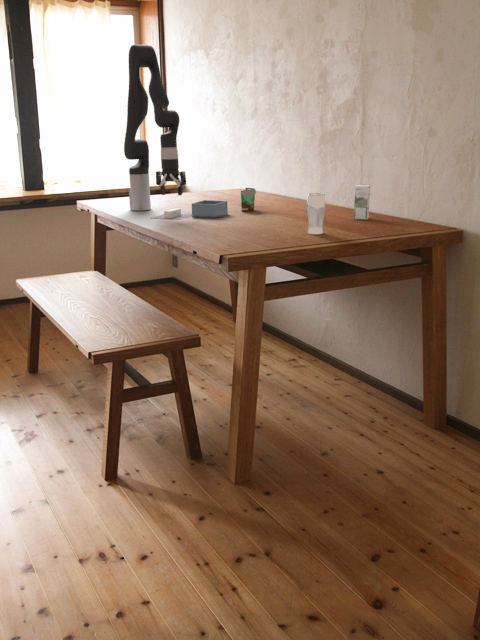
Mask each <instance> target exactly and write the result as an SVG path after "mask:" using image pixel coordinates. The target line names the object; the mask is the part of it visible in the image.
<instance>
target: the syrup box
mask: <svg viewBox="0 0 480 640" xmlns="http://www.w3.org/2000/svg"><path fill="white" fill-rule="evenodd" d="M370 193H371V185H370V184H365V183H364V184H363V183H362V184H361V183H360V184H359V183H358V184H355V185H354V202H353V203H354V205H353V207H354V209H353V220H357V221H358V220H359V221H367V220H368V219H370V215H369V214H370V197H371V194H370Z"/></svg>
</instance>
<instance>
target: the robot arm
mask: <svg viewBox="0 0 480 640" xmlns="http://www.w3.org/2000/svg"><path fill="white" fill-rule="evenodd" d="M141 68H148V70H149V72H150V78H149V79H150V80H149V83H148V93H149V94H148V93H147V91H146V88H144V85H143V84H142V81H141V78H140V77H141V75H140V74H141V73H140V69H141ZM160 70H161V69H160V66H159V62H158V56H157V54H156V51H155V48H154V47H153V46H152V45H150V44H132V45H131V46H130V47H129V51H128V93H127V95H128V96H127V111H126V112H127V114H126V115H127V117H126V130H125V136H124V142H123V143H124V144H123V153H124V156H125V158H126V159H127V160H138V162H137V163H136V164H135V165H132V166H131V167H129V169H128V171H129V172H128V173H129V185H130V186H129V188H130V189H128V198H129V209H130V211H138V212H139V211H140V212H141V211H149V210H151V209H152V207H151V206H152V203H151V189H150V188H151V187H150V176H149V175H150V172H149V170H150V151H149V149H150V148H149V143H148V141H147V140H146V139H145V138H136V136H137V133H138V132H137V131H138V130H139V128H140V126H141V125H142V123H143V122H144V120H145V119H146V117H147V115H148V112H149V97H150V100H151V103H152V105H153V110H154V111H153V113H154V114H153V115H154V122H155V124H156V126H157V127H158V128H164V129H165V128H168V129H167V132H165V133H162V134H161V135H160V136H159V137H160V139H159V140H160V162H161V169H162V171H161V170H157V171H156V172H155V184H156V186H159V187H160V189H159V190H160V194H161V195H162V196H165V195H166V186H165V185H166V184H167V182H173V183H175V184H176V185H177V195H178V196H182V195H183V192H184V191H183V187H184V186H186V185H187V178H186V171H184V170H183V171H179V168H180V167H179V152H178V151H179V150H178V142H177V141H178V140H177V136H178V130H179V126H180V116H179V113H178V112H177V111H176V110H171V109H170V110H165V109H167V108H168V107H169V105H170V100H169V97H168V95H167V92H166V89H165V87H164V84H163V80H162V75H161V71H160ZM148 95H149V96H148Z"/></svg>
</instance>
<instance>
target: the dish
mask: <svg viewBox="0 0 480 640" xmlns="http://www.w3.org/2000/svg"><path fill="white" fill-rule="evenodd" d="M228 211H229V210H228V201H227V200H211V199H210V200H209V199H208V200H207V199H202V200H200V201H196V202H192V203H191V215H192V216H191V217H192V218H201V219H202V218H203V219H206V218H207V219H218V218H221V217H223V216H227V215H228V214H229V213H228Z"/></svg>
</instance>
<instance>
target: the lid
mask: <svg viewBox="0 0 480 640" xmlns="http://www.w3.org/2000/svg"><path fill="white" fill-rule="evenodd" d="M190 216H191V217H192V214H186V213H182V208H178V207H177V208H171V209H167V210H163V214H161V215H157V216H153V217H150V218H149V219H151V220H152V219H153V220H154V219H155V220H169V221H181V220H183V219H187V218H191V217H190Z"/></svg>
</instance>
